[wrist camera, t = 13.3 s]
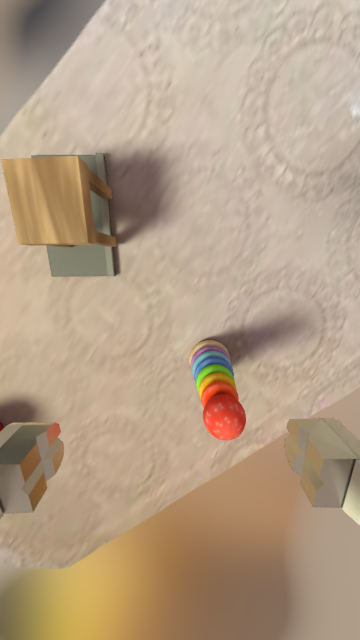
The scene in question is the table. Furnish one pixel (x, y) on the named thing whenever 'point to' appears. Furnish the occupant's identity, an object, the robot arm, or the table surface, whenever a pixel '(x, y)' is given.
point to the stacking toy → (217, 389)
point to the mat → (92, 255)
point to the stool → (54, 201)
